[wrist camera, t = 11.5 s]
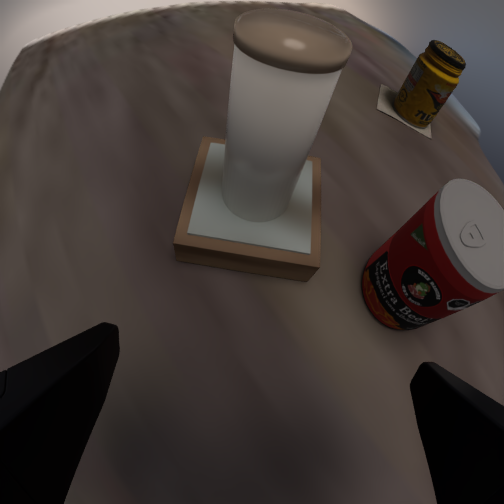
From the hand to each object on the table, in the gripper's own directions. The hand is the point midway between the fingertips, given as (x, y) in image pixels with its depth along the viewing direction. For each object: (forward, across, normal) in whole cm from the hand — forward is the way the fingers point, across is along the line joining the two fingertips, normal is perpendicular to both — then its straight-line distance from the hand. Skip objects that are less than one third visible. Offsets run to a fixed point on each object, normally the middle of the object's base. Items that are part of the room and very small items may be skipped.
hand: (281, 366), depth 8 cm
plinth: (+19, +1, 0) cm, 19 cm away
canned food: (+16, -13, +4) cm, 21 cm away
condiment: (+34, -18, -15) cm, 42 cm away
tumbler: (+16, +1, -2) cm, 16 cm away
